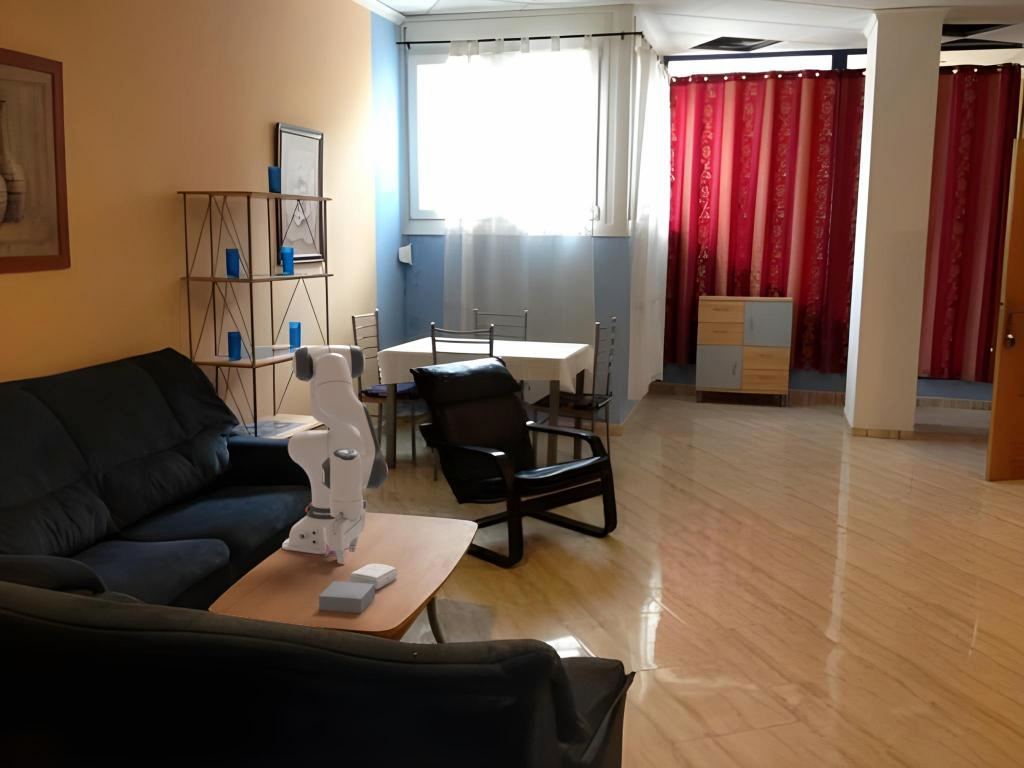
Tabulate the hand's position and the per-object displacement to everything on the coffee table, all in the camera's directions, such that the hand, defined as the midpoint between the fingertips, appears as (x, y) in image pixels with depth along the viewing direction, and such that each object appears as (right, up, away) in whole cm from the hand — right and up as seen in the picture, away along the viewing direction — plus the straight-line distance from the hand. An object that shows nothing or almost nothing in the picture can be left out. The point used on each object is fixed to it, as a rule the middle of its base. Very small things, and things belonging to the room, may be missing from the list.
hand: (347, 556), depth 254 cm
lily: (-13, -10, +32) cm, 36 cm away
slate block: (0, -13, +2) cm, 14 cm away
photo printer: (+2, -10, +13) cm, 16 cm away
